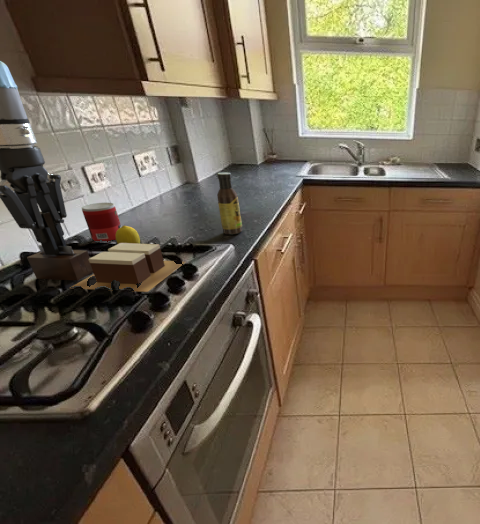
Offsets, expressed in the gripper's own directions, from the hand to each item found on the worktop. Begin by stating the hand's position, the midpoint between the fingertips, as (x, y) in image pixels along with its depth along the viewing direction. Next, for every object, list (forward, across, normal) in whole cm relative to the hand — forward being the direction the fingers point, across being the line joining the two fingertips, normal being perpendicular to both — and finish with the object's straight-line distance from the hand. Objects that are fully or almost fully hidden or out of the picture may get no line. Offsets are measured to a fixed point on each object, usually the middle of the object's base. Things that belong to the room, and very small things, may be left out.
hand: (57, 252), depth 77 cm
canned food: (+8, +26, +10) cm, 29 cm away
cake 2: (+6, +5, -15) cm, 17 cm away
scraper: (+6, 0, 0) cm, 6 cm away
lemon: (+8, +18, -3) cm, 20 cm away
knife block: (+7, 0, 0) cm, 7 cm away
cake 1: (+6, -1, -15) cm, 16 cm away
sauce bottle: (+8, +37, -25) cm, 45 cm away
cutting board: (+7, +2, -15) cm, 17 cm away
